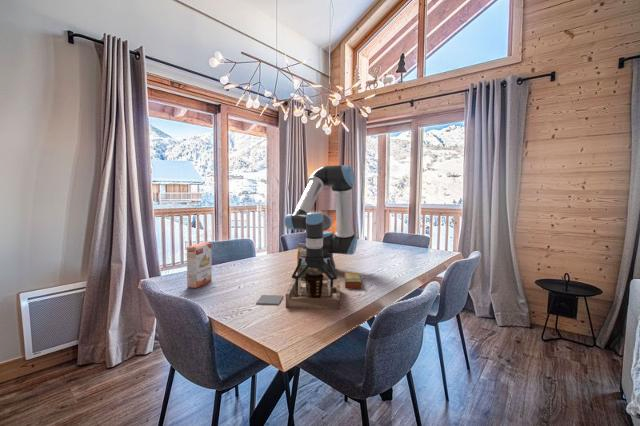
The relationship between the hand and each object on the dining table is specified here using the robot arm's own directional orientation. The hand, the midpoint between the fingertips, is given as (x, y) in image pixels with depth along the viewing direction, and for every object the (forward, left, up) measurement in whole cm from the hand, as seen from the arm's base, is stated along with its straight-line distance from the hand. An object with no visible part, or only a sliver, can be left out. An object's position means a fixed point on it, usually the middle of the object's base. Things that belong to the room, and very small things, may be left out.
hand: (314, 293), depth 137 cm
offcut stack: (-10, 0, -3) cm, 10 cm away
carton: (-26, +18, -4) cm, 32 cm away
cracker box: (-19, -62, -4) cm, 65 cm away
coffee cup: (0, 0, -4) cm, 4 cm away
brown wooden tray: (-3, 0, -3) cm, 4 cm away
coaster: (+1, -20, -3) cm, 20 cm away
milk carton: (-38, -7, -4) cm, 39 cm away
